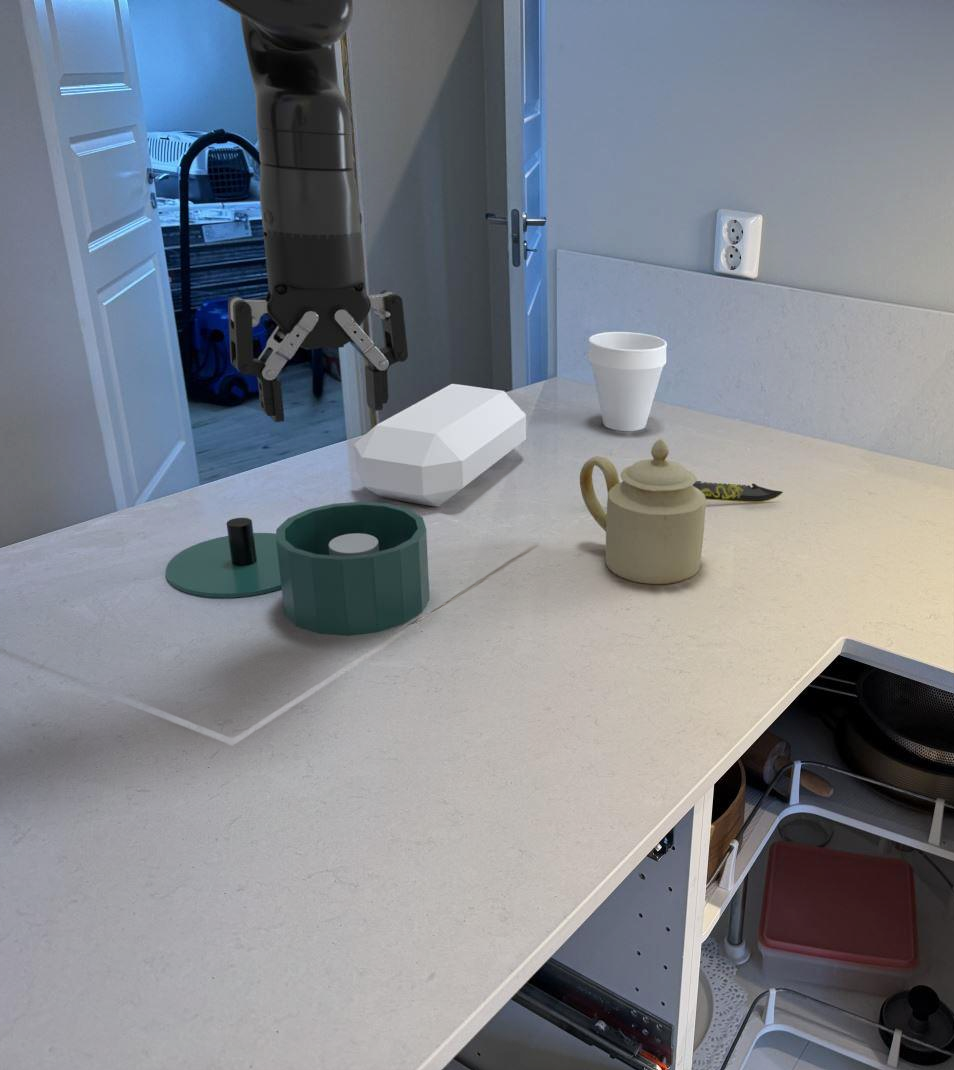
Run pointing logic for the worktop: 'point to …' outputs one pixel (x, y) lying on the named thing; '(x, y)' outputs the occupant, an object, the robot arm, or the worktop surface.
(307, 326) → the robot arm
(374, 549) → the black jar
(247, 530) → the lid
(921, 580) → the worktop surface
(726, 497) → the knife
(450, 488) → the crystal
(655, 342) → the cup
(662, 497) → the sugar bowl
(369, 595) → the pot
